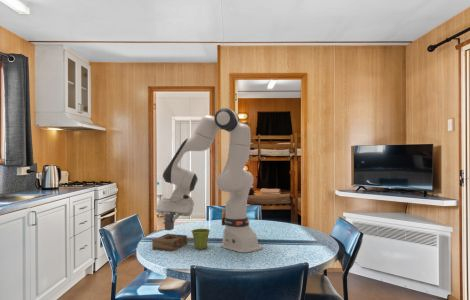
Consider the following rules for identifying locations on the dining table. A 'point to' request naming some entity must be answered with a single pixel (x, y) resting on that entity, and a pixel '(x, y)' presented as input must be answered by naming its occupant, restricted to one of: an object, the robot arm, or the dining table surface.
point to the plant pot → (200, 238)
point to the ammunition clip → (223, 216)
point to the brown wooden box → (169, 242)
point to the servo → (169, 221)
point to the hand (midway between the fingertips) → (168, 220)
